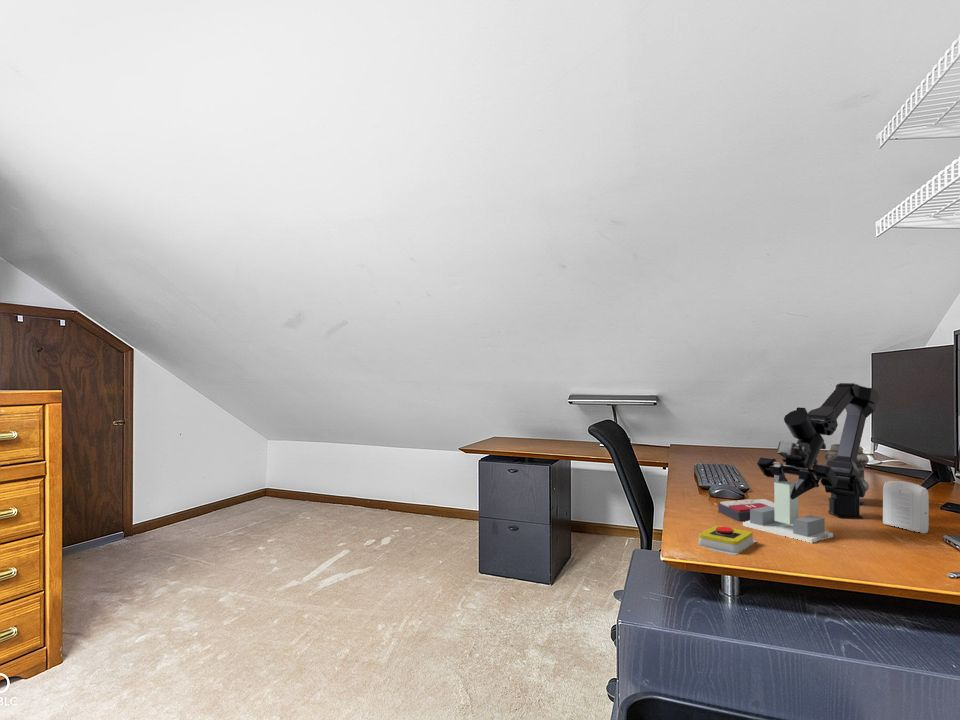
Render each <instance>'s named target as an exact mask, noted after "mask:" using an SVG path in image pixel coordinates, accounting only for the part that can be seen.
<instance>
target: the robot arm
mask: <svg viewBox="0 0 960 720" xmlns="http://www.w3.org/2000/svg"><path fill="white" fill-rule="evenodd" d="M879 401H880V394H879V392H878V391H876V390H875V389H874V387H866V386H862V385H860V384H857V383H855V382H853V383H852V382H850V383H849V382H848V383H847V382H846V383H845V382H839V383H837V384H836V385H835V389H834V390H833V392H832V393H831V394H830V395H829V396H828V397H827V399H826V400H825V401H824V402H823V403H822V405H820V406H819V407H818V408H814V409H811V410H809V411H807V409H806V407H799V406H798V407H797V408H796V409H795V410H791V411H790V412H789V413H787V414H786V415H784V416H783V417H784V418H783V421H784V423H785V425H786V426H787V429H788V430H789V432H790V433H791V435H792V437H793V438H795V439H797V441H796V443H794V442H788V441H779V442H778V446H777V449H776V455H780V456H781V457H782V458H781V460H782V462H783V463H785V464H783V463H781V462H778V461H777V460H776V458H774V457H765V456H761V457H759V458H758V460H757V462H756V465H757V466H758V468H759V470H760V471H761V472H762V474H763V476H765V477H767V478H770V479H771V478H772V479H773V480H774V481H773V483H774V482H779V481H787V482H789V480H788V479H787V477H786V476H787V475H786V474H788V475H793V476H798V479H797V481H796V482H795V483H796V485H795V486H794V488H793V490H792V493H791V496H790V497H791V499H795V498H796V497H798V498H799V497H800V496H801V495H802V494H805V493H806V492H808V491H811V490H812V489H815V488H819V487H820V485H819V483H821V485H822V487H824V489H825V493H830V497H831V498H830V497H829V498H828V499H829V500H828V505H829V506H828V507H829V510H827V513H829V514H831V515H833V516H835V517H837V518H843V519H845V518H846V519H863V518H864V517H863V515H861V514H860V505H859V499H860V498H865V496H866V492H865V490H866V488H865V487H864V485H863V483H862V481H861V479H860V472H859V470H858V468H857V465H856V460H857V455H858V451H859V446H861V442H862V438H863V434H864V428H865V424H866V420H867V418H868V417H869V416H871V414H872V413H874V412H875V410H876V407H877V405H878V403H879ZM844 410H845V411H846V416H845V421H844V424H843V429H842V433H841V437H840V441H839V444H840V445H839V449H838V453H837V457H836V458H835V459H834V460H829V461H827V462H826V464H825V465H824V464H818V463H819V461H818V459H817V458H818V455H819V453H820V451H821V450H826V449H827V447H826V446H827V445H826V444H825V440H824V438H823V436H832V435H833V434H834V433H835V431H836V430H837V427H838V426H839V424H838V421H837V419H838V418H839V416H841V414H842V413H843V412H844ZM853 491H854V492H853Z"/></svg>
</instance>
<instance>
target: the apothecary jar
mask: <svg viewBox="0 0 960 720" xmlns="http://www.w3.org/2000/svg"><path fill="white" fill-rule="evenodd" d="M839 445H840V443H835V444H833V443H832V444H831V445H830V449H829V451H827V452H826V453H825V455H824V459H825V460H826V461H827V462H828V461H829V460H834V459H835V458H836V457H837V453H838V449H839ZM869 460H870V458H869V457H868V455H867V454H865V453H864V451H863V447H862V446H861V445H860V446H859V451H858V455H857V460H856V465H857V468H858V470H859V472H860V479H861V481H862V483H863V485H864V487H865V488H866V490H865V493H866V492H867V491H868V490H869V489H870V485H869V482H868V481H866V480H865V465H868V463H869V462H870V461H869ZM853 492H854V491H853ZM829 498H831V496H830V497H829ZM829 498H828V499H827V500H828V501H829ZM865 504H866V503H865V501H863V500H861V499H860V498H859V506H861V505H862V506H863V505H865Z"/></svg>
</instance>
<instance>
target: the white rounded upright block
mask: <svg viewBox="0 0 960 720" xmlns="http://www.w3.org/2000/svg"><path fill="white" fill-rule="evenodd" d="M929 495H930V494H929V491H928V489H927V488H925V487H923V486H922V485H919V484H917V483H913V482H909V481H903V480H891V481H885V482H884V484H883V488H882V523H883V524H884V525H887V526H889V527H890V526H892V527H894V526H895V528H898V527H899V528H898V529H902V528H903V530H906V529H907V530H906V531H911V532H914V531H915V533H918V532H920V533H919V534H928V532H929V526H930V525H929V521H930V520H929V519H930V518H929V515H930V514H929V513H930V512H929V510H930V509H929V505H930V503H929V502H930V501H929V499H930V498H929Z"/></svg>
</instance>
